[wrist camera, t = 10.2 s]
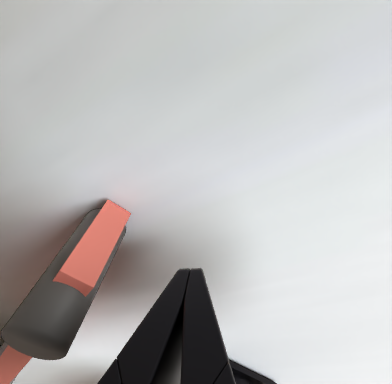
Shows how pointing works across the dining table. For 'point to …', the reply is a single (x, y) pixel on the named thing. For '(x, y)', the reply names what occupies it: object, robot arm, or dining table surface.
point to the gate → (63, 293)
